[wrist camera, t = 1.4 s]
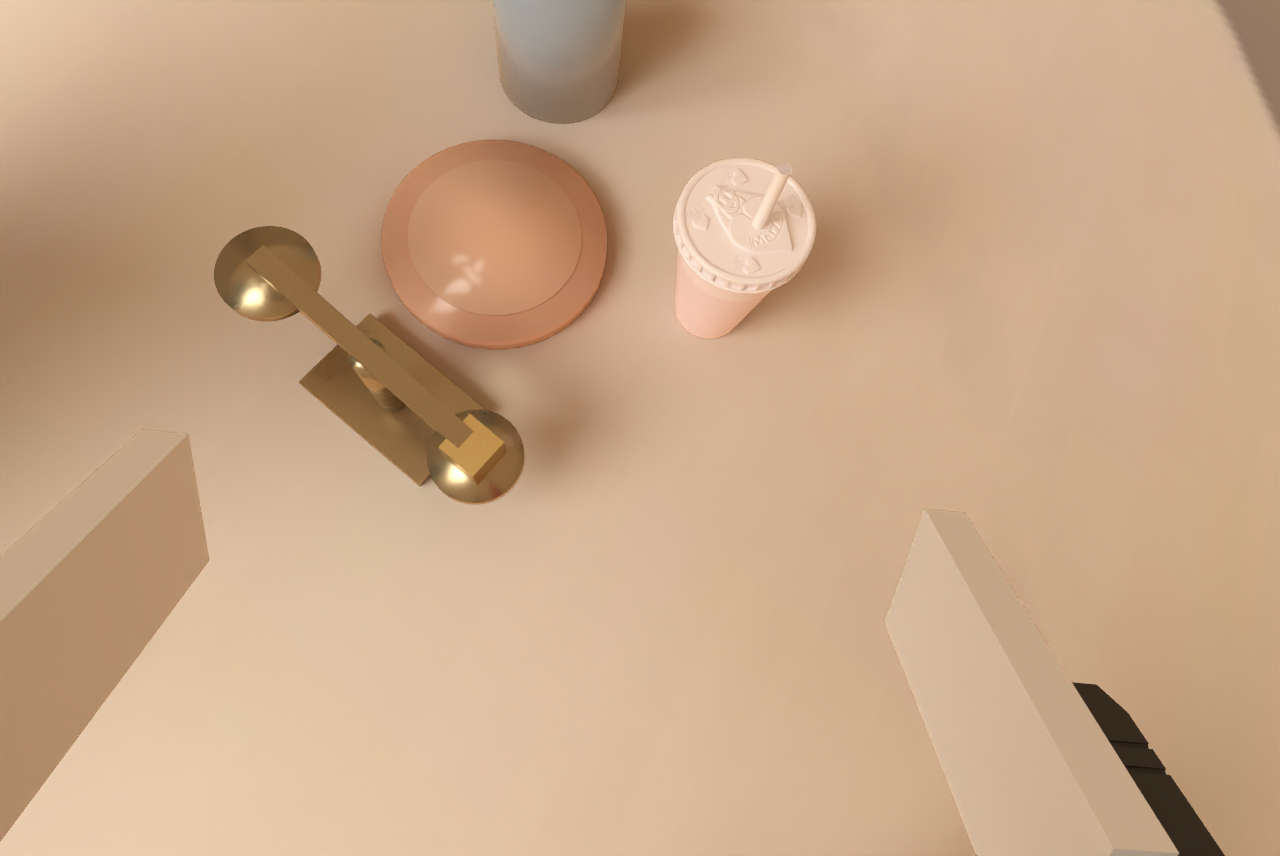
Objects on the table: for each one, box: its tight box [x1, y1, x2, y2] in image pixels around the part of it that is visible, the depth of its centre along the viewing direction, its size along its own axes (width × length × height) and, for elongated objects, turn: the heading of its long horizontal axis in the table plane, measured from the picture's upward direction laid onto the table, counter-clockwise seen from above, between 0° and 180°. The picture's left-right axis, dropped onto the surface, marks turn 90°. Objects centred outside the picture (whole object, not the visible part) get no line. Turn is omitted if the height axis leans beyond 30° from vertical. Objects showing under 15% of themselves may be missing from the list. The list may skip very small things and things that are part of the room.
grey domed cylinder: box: [493, 0, 626, 124], centre depth 43 cm, size 7×7×10 cm
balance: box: [214, 226, 524, 504], centre depth 37 cm, size 16×5×9 cm, turn 51°
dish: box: [381, 140, 607, 349], centre depth 44 cm, size 12×12×1 cm
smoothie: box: [673, 157, 816, 339], centre depth 38 cm, size 6×6×14 cm
